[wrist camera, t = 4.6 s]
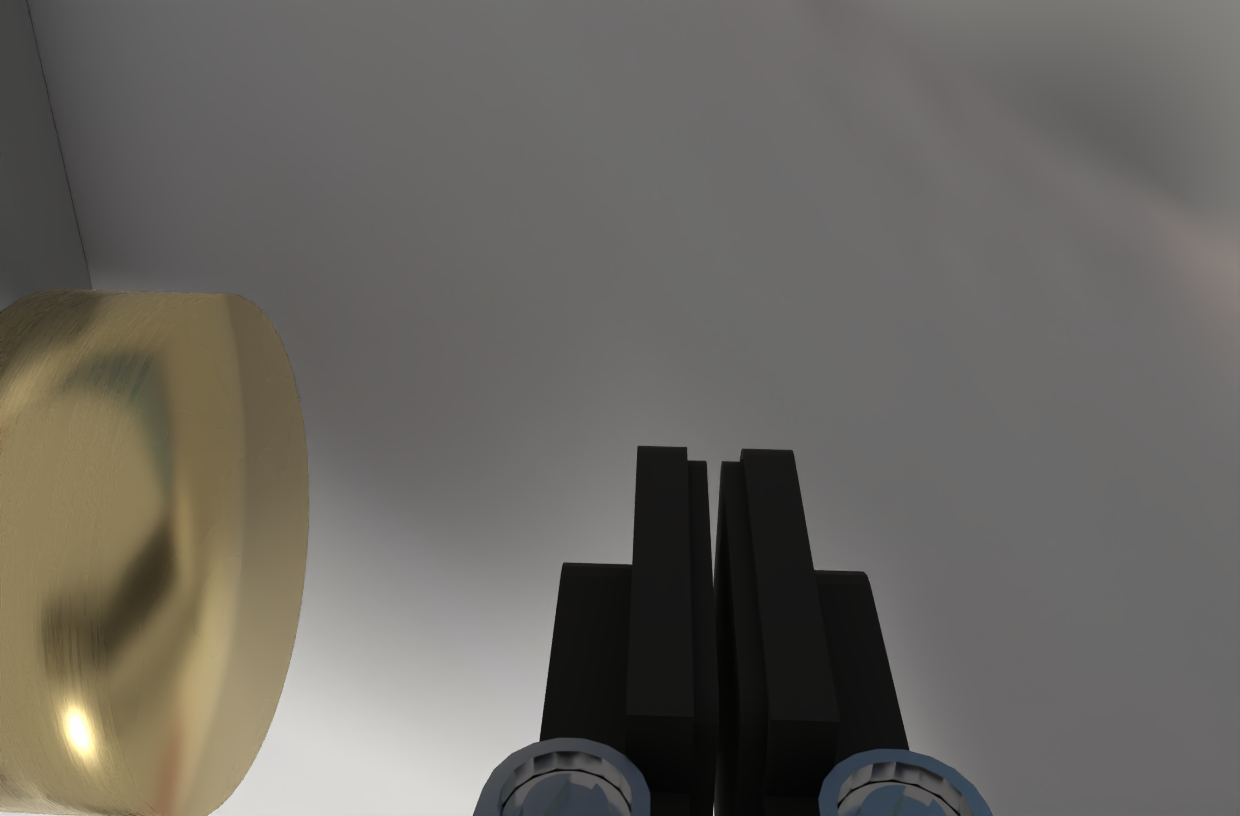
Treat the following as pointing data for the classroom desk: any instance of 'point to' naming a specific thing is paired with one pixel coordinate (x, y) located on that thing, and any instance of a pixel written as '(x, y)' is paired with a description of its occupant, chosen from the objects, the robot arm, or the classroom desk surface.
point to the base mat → (32, 174)
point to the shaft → (144, 548)
